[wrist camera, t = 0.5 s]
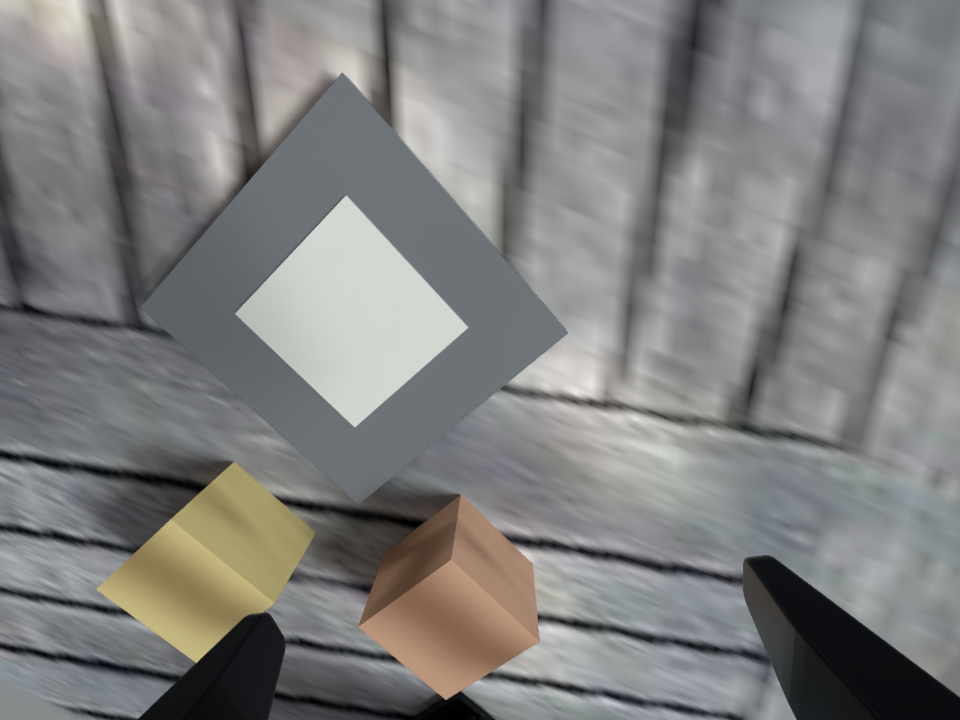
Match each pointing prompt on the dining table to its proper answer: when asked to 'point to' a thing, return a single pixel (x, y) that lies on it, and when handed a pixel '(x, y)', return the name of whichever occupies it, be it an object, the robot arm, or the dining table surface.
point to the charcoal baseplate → (352, 298)
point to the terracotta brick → (453, 600)
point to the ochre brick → (212, 564)
